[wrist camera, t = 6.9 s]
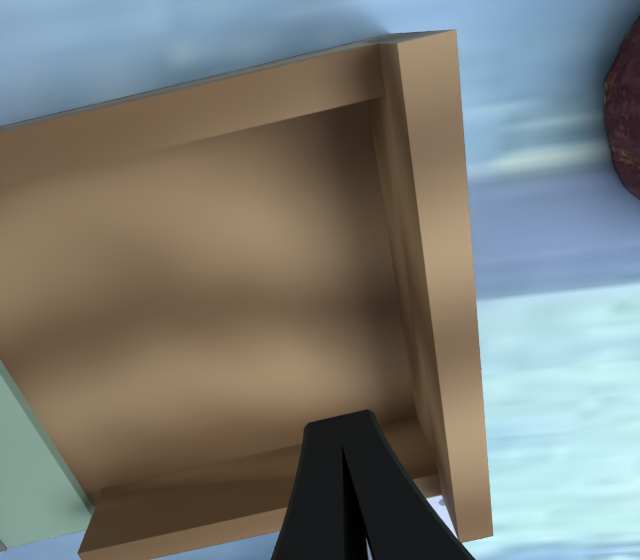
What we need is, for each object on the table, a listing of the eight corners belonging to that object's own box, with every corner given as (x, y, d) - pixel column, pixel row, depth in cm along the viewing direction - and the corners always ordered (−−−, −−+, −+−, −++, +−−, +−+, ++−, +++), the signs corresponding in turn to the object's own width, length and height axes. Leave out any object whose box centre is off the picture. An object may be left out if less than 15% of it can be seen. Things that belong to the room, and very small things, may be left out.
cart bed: (440, 416, 22) (493, 536, 17) (103, 491, 22) (49, 633, 17) (390, 33, 15) (456, 28, 10) (-104, 151, 15) (-309, 211, 10)
